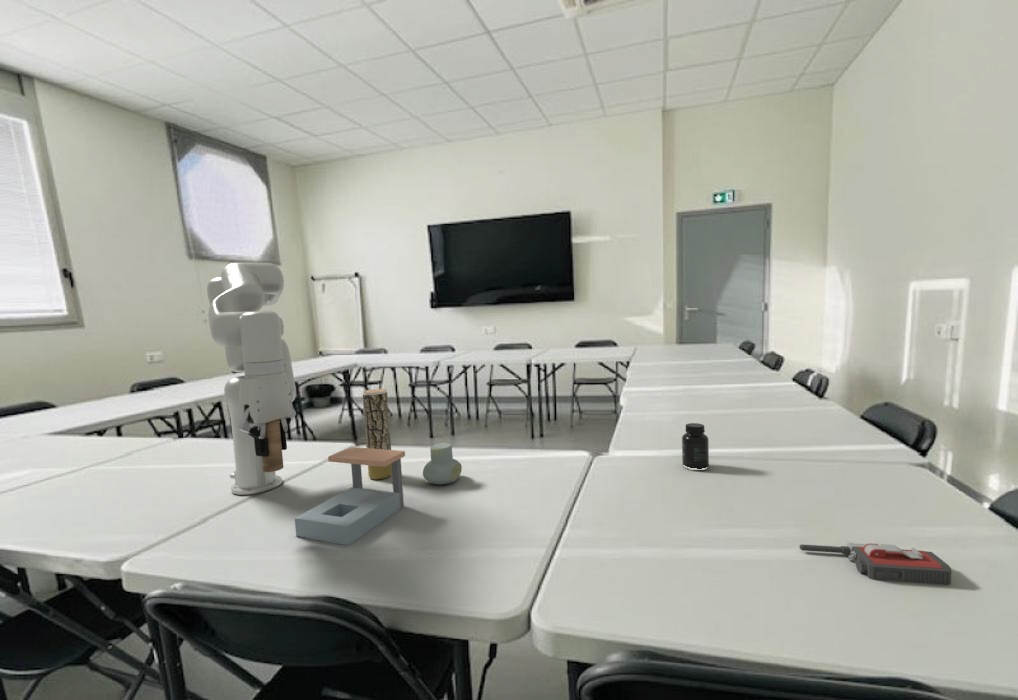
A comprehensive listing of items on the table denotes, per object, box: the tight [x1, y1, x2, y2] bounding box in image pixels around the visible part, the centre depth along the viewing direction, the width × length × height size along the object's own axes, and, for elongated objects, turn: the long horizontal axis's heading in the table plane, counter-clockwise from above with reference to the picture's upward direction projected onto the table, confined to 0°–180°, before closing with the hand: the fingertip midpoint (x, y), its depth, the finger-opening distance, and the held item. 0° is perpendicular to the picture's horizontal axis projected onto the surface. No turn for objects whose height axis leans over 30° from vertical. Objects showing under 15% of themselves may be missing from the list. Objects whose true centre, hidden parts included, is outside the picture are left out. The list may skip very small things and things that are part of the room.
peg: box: [262, 419, 284, 472], centre depth 101 cm, size 4×4×12 cm
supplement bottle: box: [681, 422, 710, 469], centre depth 129 cm, size 7×7×12 cm
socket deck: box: [294, 446, 406, 546], centre depth 105 cm, size 16×20×14 cm
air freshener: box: [422, 442, 462, 485], centre depth 127 cm, size 11×8×10 cm
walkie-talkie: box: [799, 542, 952, 586], centre depth 78 cm, size 9×4×20 cm
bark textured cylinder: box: [362, 388, 392, 480], centre depth 133 cm, size 7×7×25 cm
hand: (271, 451), depth 101 cm, fingers closed on peg, 4 cm apart
